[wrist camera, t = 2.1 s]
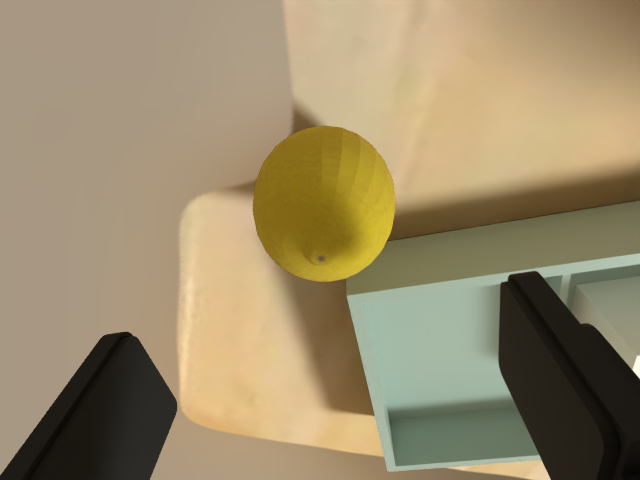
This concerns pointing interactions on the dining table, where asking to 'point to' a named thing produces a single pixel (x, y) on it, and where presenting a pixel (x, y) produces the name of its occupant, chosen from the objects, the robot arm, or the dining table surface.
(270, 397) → the dining table surface
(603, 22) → the dining table surface
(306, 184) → the lemon
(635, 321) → the carton
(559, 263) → the tray
